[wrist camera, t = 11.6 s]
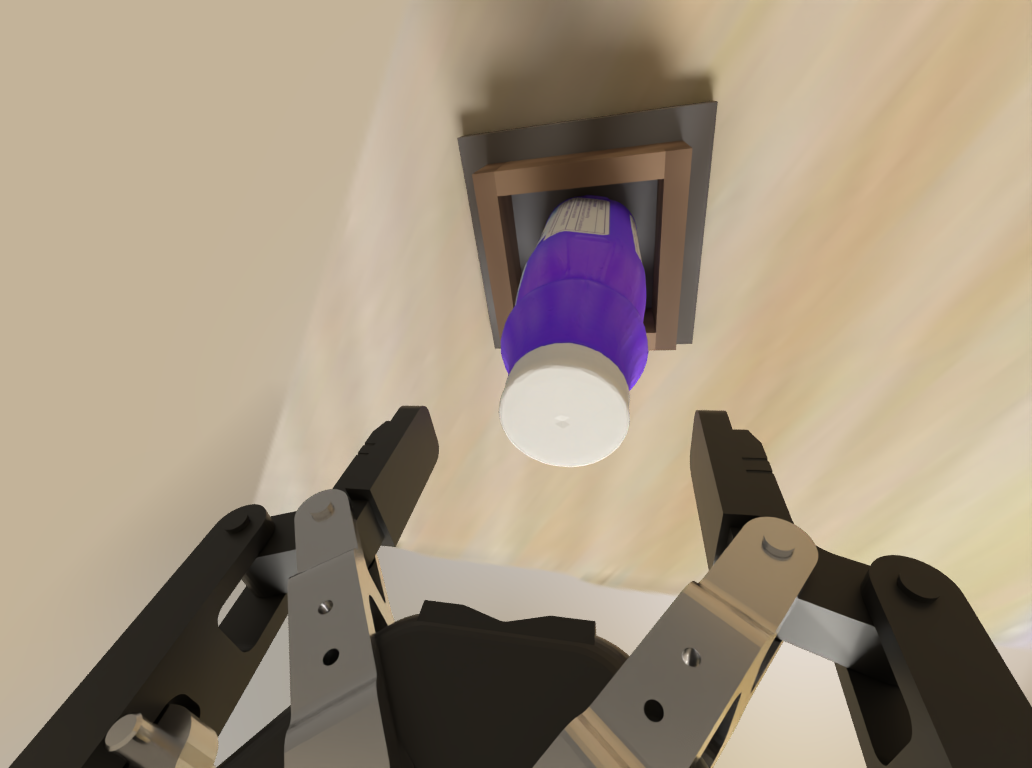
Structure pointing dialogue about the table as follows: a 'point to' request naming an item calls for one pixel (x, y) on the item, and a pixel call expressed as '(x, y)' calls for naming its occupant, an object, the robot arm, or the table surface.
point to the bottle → (576, 336)
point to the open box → (601, 172)
